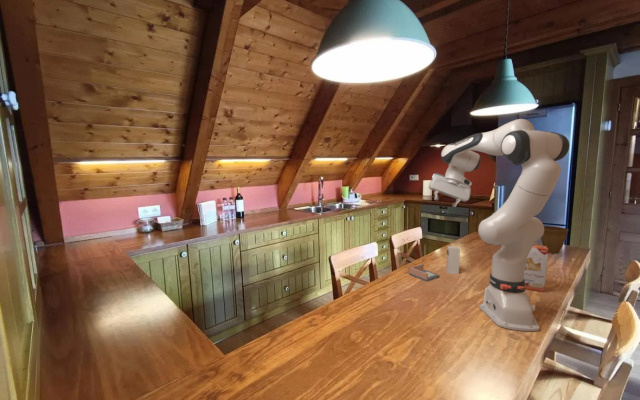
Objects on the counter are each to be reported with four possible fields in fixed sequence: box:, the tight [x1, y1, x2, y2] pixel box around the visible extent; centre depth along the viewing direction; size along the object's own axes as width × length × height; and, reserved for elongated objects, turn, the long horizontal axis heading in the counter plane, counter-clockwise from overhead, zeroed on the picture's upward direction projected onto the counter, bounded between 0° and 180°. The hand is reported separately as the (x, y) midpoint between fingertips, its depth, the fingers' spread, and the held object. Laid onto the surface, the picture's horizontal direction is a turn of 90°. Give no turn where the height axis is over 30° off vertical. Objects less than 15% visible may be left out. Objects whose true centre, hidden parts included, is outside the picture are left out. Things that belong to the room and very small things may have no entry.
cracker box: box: [524, 244, 549, 293], centre depth 141 cm, size 14×6×21 cm, turn 62°
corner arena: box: [408, 263, 440, 282], centre depth 158 cm, size 11×10×4 cm
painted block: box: [445, 245, 461, 275], centre depth 162 cm, size 4×6×14 cm
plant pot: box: [540, 225, 569, 254], centre depth 196 cm, size 15×15×16 cm
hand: (444, 203), depth 152 cm, fingers open, 8 cm apart
